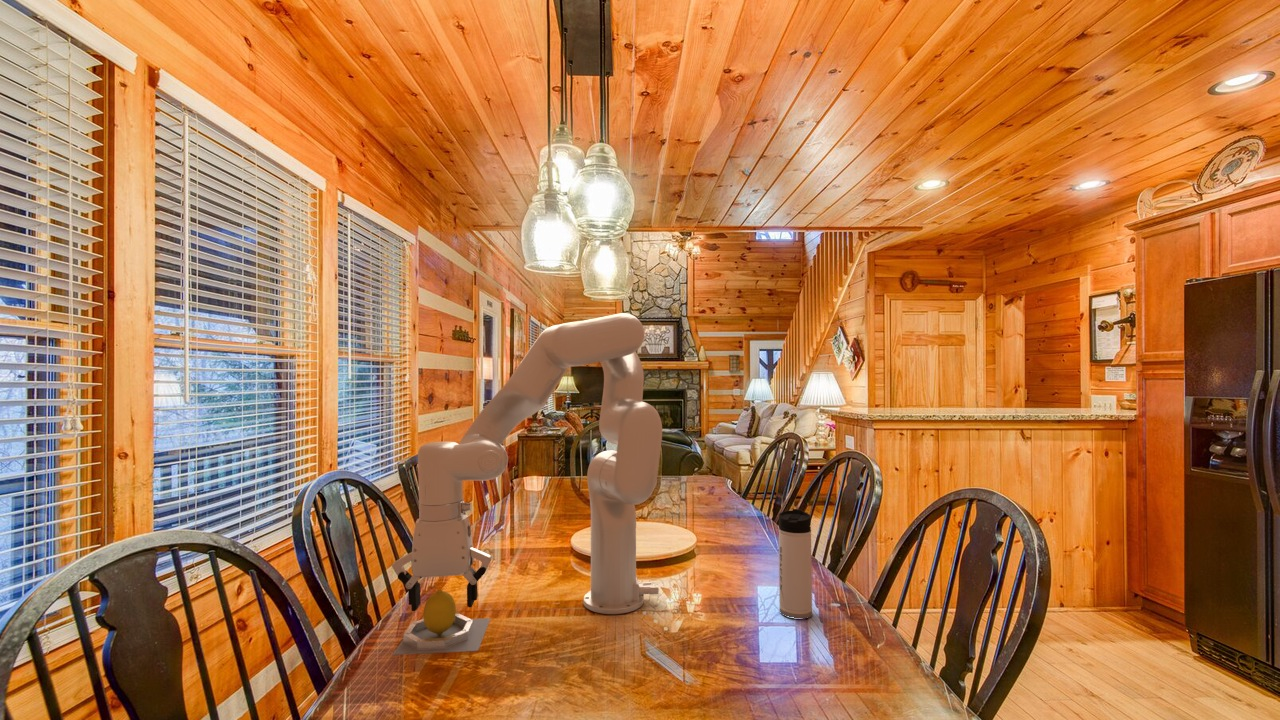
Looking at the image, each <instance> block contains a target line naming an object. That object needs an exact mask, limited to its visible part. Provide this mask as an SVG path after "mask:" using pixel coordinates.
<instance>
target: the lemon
mask: <svg viewBox="0 0 1280 720" xmlns="http://www.w3.org/2000/svg"><path fill="white" fill-rule="evenodd" d="M456 606H457V605H456V601H455V599H454V598H453V596H452V595H451V594H450V593H449V592H446V591H445V590H442V589H439V590H437V591H435V592H434V593H433V594H431V595H430V596H429V597H428V598H427V600H426V601H425V604H424V607H423V608H424V609H423V614H422V615H423V616H422V617H423V618H422V619H424V624H425V626H426V628H427V629H428V630H429V631H431V632H433V633H436V634H437V635H438V636H440V635H442V633H443V632H445V631H447V630H448V629H449V628H450V627H451V626H452V624H453V622H454V620H455V616H456V614H457V607H456Z"/></svg>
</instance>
